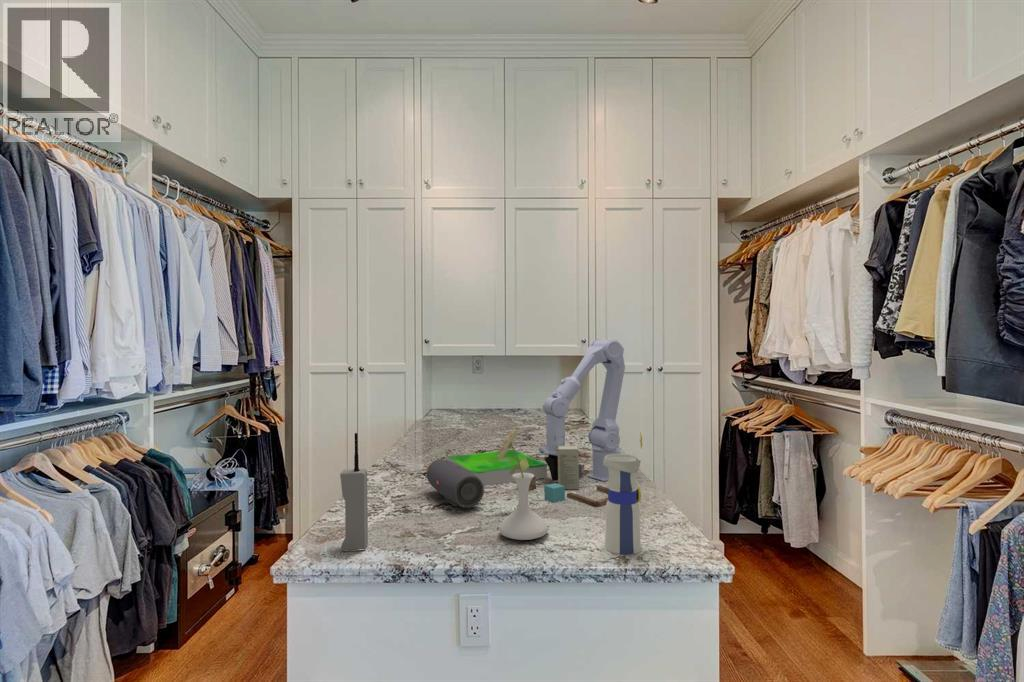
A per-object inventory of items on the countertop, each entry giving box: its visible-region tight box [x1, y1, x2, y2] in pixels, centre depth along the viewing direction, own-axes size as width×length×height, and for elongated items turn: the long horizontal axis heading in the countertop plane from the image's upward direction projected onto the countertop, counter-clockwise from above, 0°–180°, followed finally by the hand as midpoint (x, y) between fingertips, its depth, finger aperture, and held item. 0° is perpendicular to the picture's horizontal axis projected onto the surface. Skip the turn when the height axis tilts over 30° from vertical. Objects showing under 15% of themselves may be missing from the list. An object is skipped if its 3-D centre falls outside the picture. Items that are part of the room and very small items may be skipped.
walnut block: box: [529, 476, 537, 491], centre depth 164 cm, size 4×4×4 cm
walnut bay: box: [566, 485, 608, 508], centre depth 155 cm, size 13×12×1 cm
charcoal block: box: [579, 463, 583, 478], centre depth 179 cm, size 4×4×4 cm
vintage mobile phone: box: [339, 432, 369, 551], centre depth 120 cm, size 4×5×25 cm
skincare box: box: [557, 445, 580, 490], centre depth 165 cm, size 6×4×12 cm
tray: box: [447, 449, 548, 487], centre depth 183 cm, size 25×25×5 cm
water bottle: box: [603, 432, 643, 555], centre depth 119 cm, size 8×9×25 cm
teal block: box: [543, 482, 566, 504], centre depth 154 cm, size 4×4×4 cm
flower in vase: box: [497, 428, 549, 541], centre depth 126 cm, size 13×11×25 cm
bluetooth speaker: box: [426, 458, 485, 508], centre depth 153 cm, size 23×9×10 cm, turn 27°
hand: (555, 480), depth 170 cm, fingers closed
